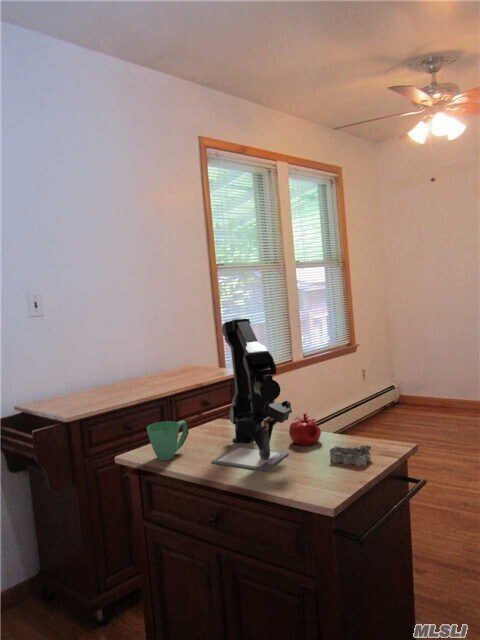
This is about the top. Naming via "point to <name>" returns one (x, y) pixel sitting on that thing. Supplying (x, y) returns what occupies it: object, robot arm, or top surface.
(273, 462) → the whiteboard
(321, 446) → the top surface
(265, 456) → the marker
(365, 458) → the egg carton
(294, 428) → the pomegranate
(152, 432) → the mug
